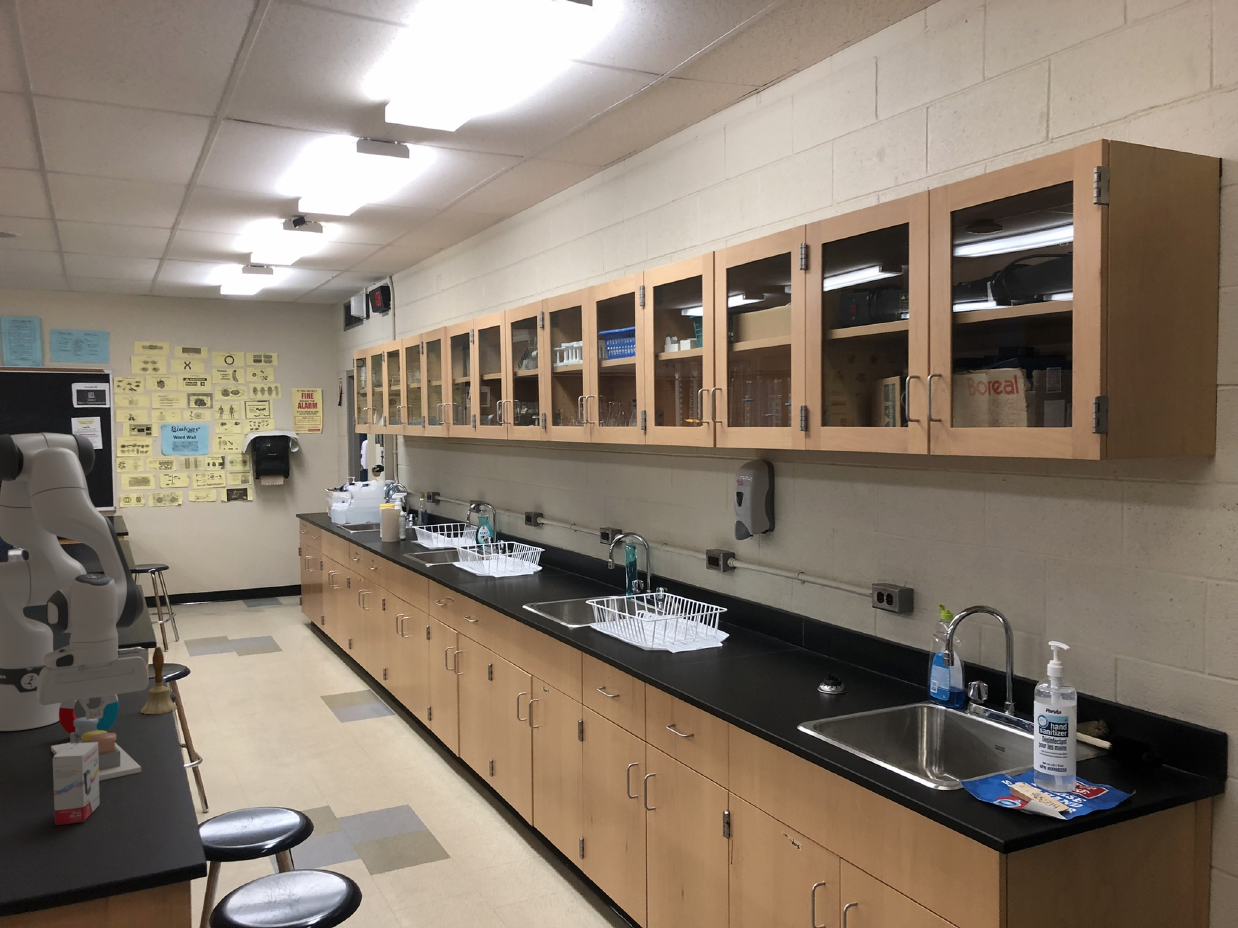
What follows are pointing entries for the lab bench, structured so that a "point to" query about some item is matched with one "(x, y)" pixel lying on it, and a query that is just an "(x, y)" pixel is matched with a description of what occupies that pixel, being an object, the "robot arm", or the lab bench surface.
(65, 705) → the magnet
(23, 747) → the lab bench surface
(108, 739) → the terracotta button
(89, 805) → the ink box
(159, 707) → the hand bell
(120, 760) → the console
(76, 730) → the slate button
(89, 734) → the ochre button
